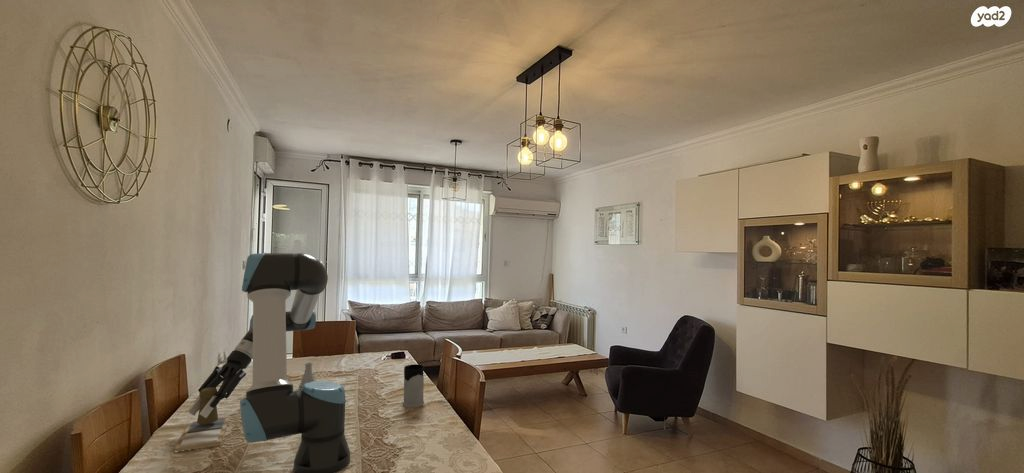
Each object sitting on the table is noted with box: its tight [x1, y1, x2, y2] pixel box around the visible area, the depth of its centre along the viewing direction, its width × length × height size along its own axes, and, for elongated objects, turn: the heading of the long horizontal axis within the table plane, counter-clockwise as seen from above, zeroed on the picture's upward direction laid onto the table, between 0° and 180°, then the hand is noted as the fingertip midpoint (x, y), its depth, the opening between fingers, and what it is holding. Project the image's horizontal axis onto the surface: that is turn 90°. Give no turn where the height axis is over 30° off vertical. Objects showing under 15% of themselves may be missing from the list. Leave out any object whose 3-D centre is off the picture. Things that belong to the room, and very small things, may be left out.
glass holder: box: [402, 364, 425, 409], centre depth 181 cm, size 9×14×15 cm, turn 36°
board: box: [173, 416, 231, 453], centre depth 147 cm, size 22×12×2 cm, turn 27°
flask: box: [299, 362, 317, 388], centre depth 201 cm, size 7×7×10 cm
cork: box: [197, 387, 219, 424], centre depth 152 cm, size 6×6×11 cm
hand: (196, 414), depth 148 cm, fingers closed on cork, 5 cm apart
